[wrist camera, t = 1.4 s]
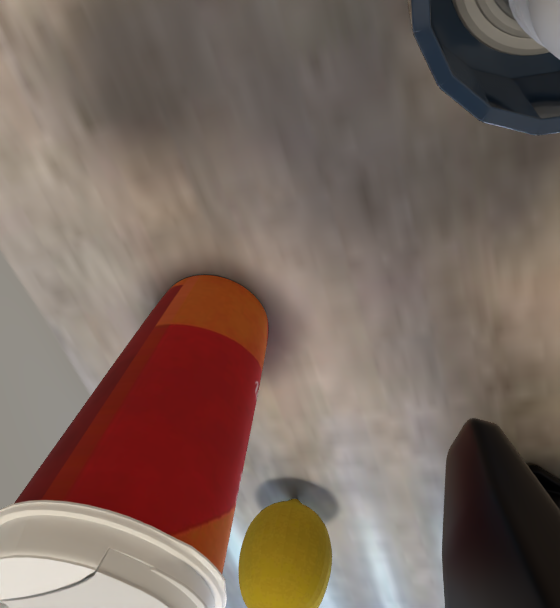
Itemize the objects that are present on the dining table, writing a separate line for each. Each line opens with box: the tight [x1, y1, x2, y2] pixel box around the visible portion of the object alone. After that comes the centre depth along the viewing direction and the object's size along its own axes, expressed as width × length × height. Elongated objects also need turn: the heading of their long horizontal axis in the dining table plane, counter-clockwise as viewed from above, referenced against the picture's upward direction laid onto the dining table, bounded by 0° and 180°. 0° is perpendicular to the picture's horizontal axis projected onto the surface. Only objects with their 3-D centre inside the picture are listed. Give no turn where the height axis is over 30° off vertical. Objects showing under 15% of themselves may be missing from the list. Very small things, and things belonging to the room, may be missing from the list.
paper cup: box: [0, 275, 268, 608], centre depth 20 cm, size 8×8×14 cm
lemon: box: [239, 499, 332, 608], centre depth 31 cm, size 6×6×8 cm
